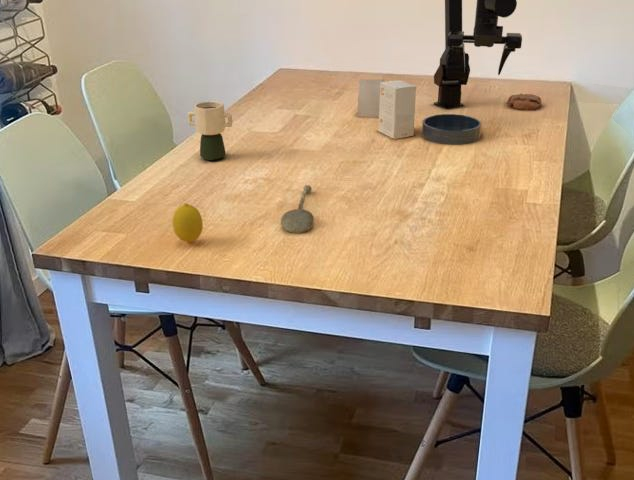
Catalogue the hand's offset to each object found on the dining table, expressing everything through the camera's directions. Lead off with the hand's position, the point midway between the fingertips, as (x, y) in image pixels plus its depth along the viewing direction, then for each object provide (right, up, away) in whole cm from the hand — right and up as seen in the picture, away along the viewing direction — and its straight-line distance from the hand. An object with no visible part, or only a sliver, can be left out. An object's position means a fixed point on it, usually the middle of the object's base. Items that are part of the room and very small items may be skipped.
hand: (481, 73), depth 203 cm
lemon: (-68, -51, -57) cm, 102 cm away
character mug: (-69, -26, -14) cm, 75 cm away
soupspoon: (-47, -43, -44) cm, 77 cm away
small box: (-22, -16, +1) cm, 27 cm away
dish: (-8, -16, -1) cm, 18 cm away
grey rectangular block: (-28, -7, +16) cm, 33 cm away
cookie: (+18, -2, +23) cm, 29 cm away
